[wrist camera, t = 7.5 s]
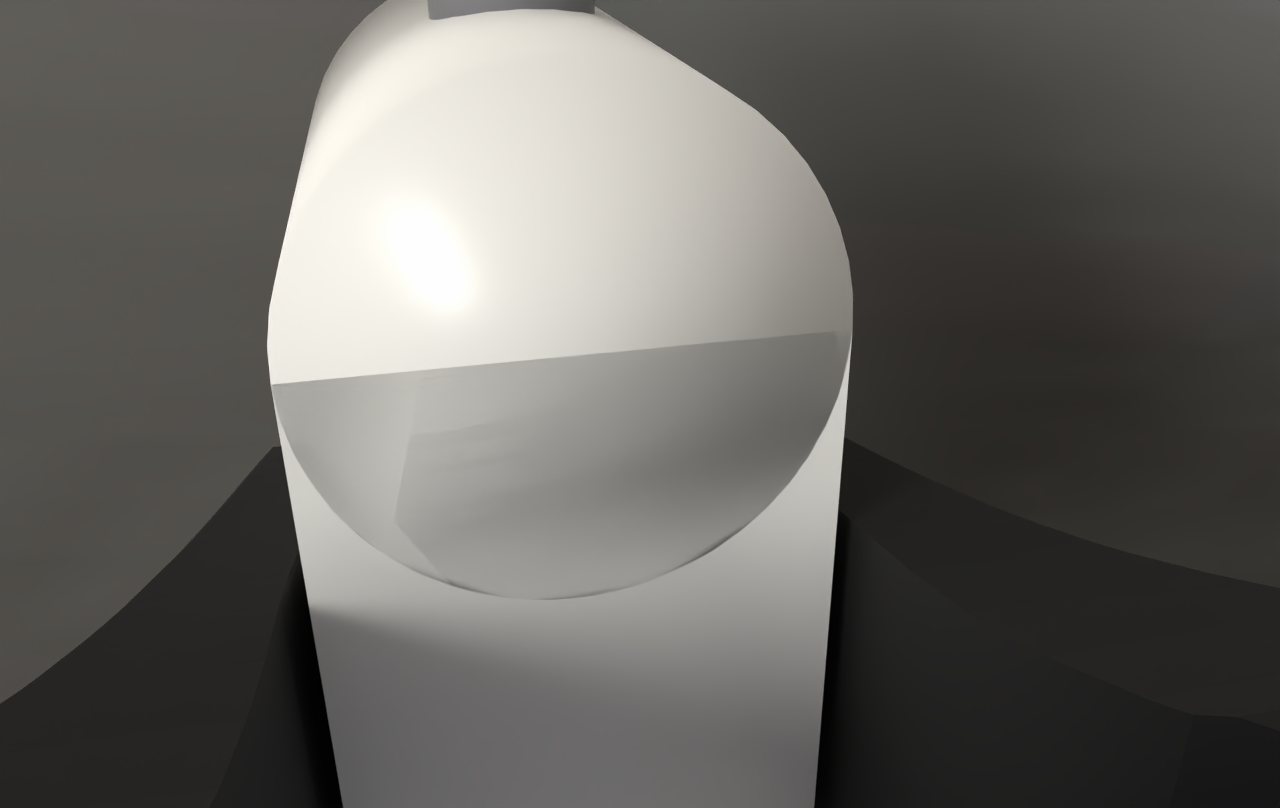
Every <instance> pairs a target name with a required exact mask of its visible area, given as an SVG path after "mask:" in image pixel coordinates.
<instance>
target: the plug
mask: <svg viewBox="0 0 1280 808" xmlns="http://www.w3.org/2000/svg"><path fill="white" fill-rule="evenodd" d="M852 330H853V291H852V283H851V274H850V266H849V260H848V256H847V252H846V248H845V245H844V241H843V237H842V233H841V229H840V226H839V224H838V222H837V219H836V217H835V214H834V212H833V210H832V207H831V205H830V203H829V200H828V198H827V196H826V194H825V192H824V190H823V189H822V187H821V185H820V184H819V182H818V180H817V179H816V177H815V175H814V174H813V172H812V171H811V169H810V167H809V166H808V164H807V163H806V161H805V160H804V159H803V158H802V157H801V155H800V154H799V153H798V152H797V151H796V149H795V148H794V147H793V146H792V144H791V143H790V142H789V141H788V140H787V138H786V137H785V136H784V135H783V134H782V133H781V132H780V131H779V130H778V129H776V128H775V127H774V126H773V125H772V124H771V123H770V122H769V121H768V120H766V119H765V118H764V117H763V116H762V115H761V114H760V113H759V112H758V111H757V110H755V109H754V108H752V107H751V106H749V105H748V104H746V103H745V102H743V101H742V100H740V99H739V98H737V97H736V96H734V95H733V94H731V93H730V92H728V91H727V90H725V89H724V88H722V87H721V86H719V85H718V84H716V83H715V82H713V81H711V80H710V79H708V78H707V77H705V76H704V75H702V74H701V73H699V72H697V71H696V70H694V69H693V68H691V67H690V66H688V65H686V64H685V63H683V62H682V61H680V60H679V59H677V58H675V57H674V56H672V55H671V54H669V53H668V52H666V51H664V50H663V49H661V48H660V47H658V46H657V45H655V44H653V43H652V42H650V41H649V40H647V39H646V38H644V37H643V36H641V35H639V34H638V33H636V32H635V31H633V30H632V29H630V28H628V27H627V26H625V25H624V24H622V23H621V22H619V21H617V20H616V19H614V18H613V17H611V16H610V15H608V14H606V13H605V12H603V11H602V10H600V9H599V8H597V7H595V5H594V0H387V1H385V2H384V3H383V4H382V5H380V6H379V7H378V8H377V9H375V10H374V11H373V12H371V13H370V14H369V15H368V16H367V17H366V18H365V19H364V20H363V21H362V22H361V23H360V24H359V25H358V26H357V27H356V28H355V29H354V30H353V31H352V32H351V33H350V35H349V36H348V37H347V39H346V40H345V42H344V43H343V44H342V46H341V47H340V48H339V50H338V51H337V53H336V54H335V56H334V58H333V60H332V62H331V64H330V66H329V68H328V70H327V71H326V73H325V75H324V78H323V81H322V84H321V86H320V89H319V92H318V95H317V98H316V102H315V106H314V110H313V115H312V119H311V124H310V128H309V132H308V137H307V141H306V146H305V150H304V154H303V159H302V163H301V168H300V172H299V176H298V181H297V185H296V190H295V194H294V198H293V203H292V207H291V212H290V216H289V220H288V225H287V229H286V234H285V238H284V242H283V247H282V251H281V256H280V260H279V264H278V269H277V273H276V278H275V283H274V288H273V293H272V298H271V303H270V308H269V324H268V342H267V350H268V360H269V371H270V381H271V389H272V394H273V400H274V406H275V412H276V418H277V424H278V430H279V435H280V441H281V447H282V453H283V459H284V465H285V470H286V476H287V482H288V488H289V494H290V500H291V505H292V511H293V517H294V523H295V529H296V535H297V540H298V546H299V552H300V558H301V564H302V570H303V576H304V581H305V587H306V593H307V599H308V605H309V611H310V616H311V622H312V628H313V634H314V640H315V646H316V651H317V657H318V663H319V669H320V675H321V681H322V687H323V692H324V698H325V704H326V710H327V716H328V722H329V727H330V733H331V739H332V745H333V751H334V757H335V762H336V768H337V774H338V780H339V786H340V792H341V797H342V803H343V808H814V802H815V790H816V777H817V765H818V752H819V740H820V727H821V715H822V703H823V690H824V678H825V665H826V653H827V640H828V628H829V616H830V603H831V591H832V578H833V566H834V553H835V541H836V529H837V516H838V504H839V491H840V479H841V466H842V454H843V442H844V429H845V417H846V404H847V392H848V379H849V367H850V355H851V342H852Z"/></svg>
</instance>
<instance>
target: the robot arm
mask: <svg viewBox="0 0 1280 808" xmlns="http://www.w3.org/2000/svg"><path fill="white" fill-rule="evenodd" d="M0 808H343V803H342V797H341V792H340V786H339V780H338V774H337V768H336V762H335V757H334V751H333V745H332V739H331V733H330V727H329V722H328V716H327V710H326V704H325V698H324V692H323V687H322V681H321V675H320V669H319V663H318V657H317V651H316V646H315V640H314V634H313V628H312V622H311V616H310V611H309V605H308V599H307V593H306V587H305V581H304V576H303V570H302V564H301V558H300V552H299V546H298V540H297V535H296V529H295V523H294V517H293V511H292V505H291V500H290V494H289V488H288V482H287V476H286V470H285V465H284V459H283V453H282V447H273V448H272V449H271V450H270V451H269V452H268V453H267V454H266V455H265V457H264V458H263V459H262V460H261V461H260V462H259V463H258V464H257V465H256V467H255V468H254V469H253V470H252V471H251V472H250V473H249V475H248V476H247V477H246V478H245V479H244V481H243V482H242V483H241V484H240V485H239V486H238V488H237V489H236V490H235V491H234V492H233V494H232V495H231V496H230V497H229V498H228V499H227V501H226V502H225V503H224V504H223V505H222V506H221V508H220V509H219V510H218V511H217V512H216V513H215V515H214V516H213V517H212V518H211V519H210V520H209V521H208V522H207V524H206V525H205V526H204V527H203V528H202V529H201V530H200V531H199V532H198V533H197V534H196V536H195V537H194V538H193V539H192V540H191V541H190V542H189V543H188V544H187V545H186V547H185V548H184V549H183V550H182V551H181V552H180V553H179V554H178V555H177V556H176V557H175V558H174V559H173V560H172V561H171V562H170V563H169V564H168V565H167V566H166V567H165V568H164V569H163V570H162V571H161V572H160V573H159V574H158V575H157V576H156V577H155V578H153V579H152V580H151V581H150V582H149V583H148V584H147V585H146V586H145V587H144V588H143V589H142V590H141V591H140V592H139V593H138V594H137V595H136V596H135V597H134V598H133V599H132V600H131V601H130V602H129V603H128V604H127V605H126V606H125V607H124V608H123V609H121V610H120V611H119V612H118V613H117V614H116V615H115V616H113V617H112V618H111V619H110V620H109V621H108V622H107V623H106V624H104V625H103V626H102V627H101V628H100V629H98V630H97V631H96V632H95V633H94V634H92V635H91V636H90V637H89V638H88V639H86V640H85V641H84V642H83V643H82V644H80V645H79V646H78V647H77V648H75V649H74V650H73V651H71V652H70V653H69V654H68V655H66V656H65V657H64V658H62V659H61V660H60V661H59V662H57V663H56V664H55V665H53V666H52V667H51V668H49V669H48V670H47V671H46V672H44V673H43V674H42V675H40V676H39V677H38V678H37V679H35V680H34V681H32V682H31V683H30V684H28V685H27V686H26V687H24V688H23V689H22V690H20V691H19V692H17V693H16V694H14V695H13V696H11V697H10V698H8V699H7V700H5V701H4V702H2V703H1V704H0ZM814 808H1280V588H1277V587H1271V586H1265V585H1261V584H1256V583H1251V582H1247V581H1242V580H1237V579H1233V578H1228V577H1223V576H1218V575H1214V574H1209V573H1205V572H1201V571H1197V570H1193V569H1189V568H1185V567H1181V566H1177V565H1174V564H1170V563H1166V562H1162V561H1158V560H1154V559H1150V558H1146V557H1142V556H1138V555H1135V554H1131V553H1127V552H1124V551H1120V550H1117V549H1114V548H1110V547H1107V546H1103V545H1100V544H1097V543H1093V542H1090V541H1087V540H1084V539H1081V538H1078V537H1075V536H1072V535H1069V534H1066V533H1063V532H1061V531H1058V530H1055V529H1052V528H1049V527H1046V526H1043V525H1040V524H1037V523H1034V522H1031V521H1028V520H1026V519H1023V518H1020V517H1017V516H1015V515H1012V514H1010V513H1007V512H1004V511H1002V510H999V509H997V508H994V507H992V506H989V505H987V504H984V503H982V502H980V501H977V500H975V499H973V498H970V497H968V496H966V495H964V494H961V493H959V492H957V491H954V490H952V489H950V488H947V487H945V486H943V485H940V484H938V483H936V482H934V481H932V480H929V479H927V478H925V477H923V476H921V475H919V474H917V473H915V472H912V471H910V470H908V469H906V468H904V467H902V466H900V465H898V464H896V463H894V462H892V461H890V460H888V459H886V458H884V457H882V456H880V455H878V454H876V453H874V452H872V451H870V450H868V449H866V448H864V447H862V446H860V445H858V444H856V443H854V442H852V441H850V440H848V439H846V438H845V437H844V442H843V454H842V466H841V479H840V491H839V504H838V516H837V529H836V541H835V553H834V566H833V578H832V591H831V603H830V616H829V628H828V640H827V653H826V665H825V678H824V690H823V703H822V715H821V727H820V740H819V752H818V765H817V777H816V790H815V802H814Z"/></svg>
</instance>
